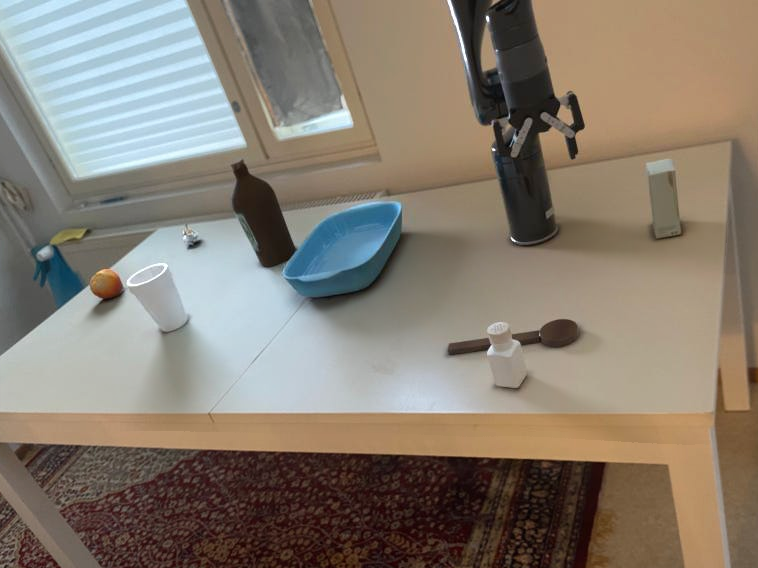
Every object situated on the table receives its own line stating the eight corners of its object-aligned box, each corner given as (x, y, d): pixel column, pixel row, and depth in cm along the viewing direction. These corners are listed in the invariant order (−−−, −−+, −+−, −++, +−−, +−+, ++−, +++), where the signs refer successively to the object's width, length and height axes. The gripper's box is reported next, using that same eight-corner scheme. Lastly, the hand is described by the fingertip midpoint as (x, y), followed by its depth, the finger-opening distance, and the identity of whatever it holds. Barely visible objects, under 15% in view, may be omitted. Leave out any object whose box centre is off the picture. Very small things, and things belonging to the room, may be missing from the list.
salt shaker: (518, 390, 102) (504, 337, 97) (494, 387, 104) (479, 335, 99) (529, 373, 105) (516, 320, 100) (505, 370, 107) (491, 319, 102)
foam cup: (158, 340, 154) (129, 290, 147) (152, 326, 162) (123, 278, 155) (198, 320, 156) (171, 270, 149) (189, 307, 164) (163, 259, 157)
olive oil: (292, 242, 179) (252, 148, 166) (303, 254, 170) (262, 156, 157) (254, 259, 177) (211, 166, 164) (263, 272, 168) (218, 174, 155)
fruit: (134, 278, 188) (111, 263, 182) (125, 304, 186) (101, 291, 179) (114, 279, 192) (90, 265, 186) (105, 305, 190) (80, 292, 183)
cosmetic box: (681, 235, 124) (676, 170, 117) (655, 239, 125) (648, 175, 119) (677, 219, 129) (671, 156, 122) (652, 224, 130) (645, 161, 124)
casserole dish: (334, 234, 174) (324, 208, 170) (418, 219, 166) (410, 191, 162) (280, 316, 146) (267, 286, 142) (378, 302, 138) (367, 270, 134)
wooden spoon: (447, 362, 114) (445, 356, 113) (451, 341, 118) (449, 335, 118) (579, 344, 107) (578, 337, 106) (578, 322, 112) (577, 316, 111)
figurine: (192, 247, 199) (182, 228, 196) (182, 247, 202) (172, 228, 199) (204, 238, 203) (195, 219, 199) (194, 238, 205) (185, 220, 202)
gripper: (563, 49, 111) (584, 145, 120) (477, 81, 114) (504, 172, 122) (573, 59, 105) (594, 159, 113) (481, 93, 108) (509, 188, 116)
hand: (547, 166), depth 118 cm, fingers open, 8 cm apart
